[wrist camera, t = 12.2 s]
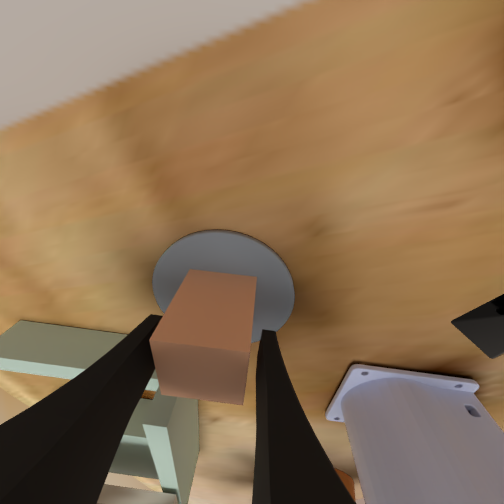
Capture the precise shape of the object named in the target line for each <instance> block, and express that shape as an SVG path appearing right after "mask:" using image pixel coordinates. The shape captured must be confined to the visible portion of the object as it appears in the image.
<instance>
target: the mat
mask: <svg viewBox="0 0 504 504" xmlns="http://www.w3.org/2000/svg"><path fill="white" fill-rule="evenodd" d="M190 269H194V270H202V271H211V272H220V273H228V274H237V275H245V276H254V277H257V282H256V293H255V304H254V315H253V326H252V337H251V343H253V342H257V341H260V339H261V333H262V329H264V330H272V331H275V332H276V331H278V330H279V329H280V328H281V327H282V326H283V325H284V324H285V322H286V321H287V320H288V318H289V316H290V315H291V312H292V309H293V306H294V300H295V293H294V286H293V280H292V277H291V274H290V272H289V270H288V268H287V266H286V264H285V263H284V262H283V260H282V259H281V258H280V257H279V256H278V255H277V253H276V252H275V251H273V250H272V249H271V248H270V247H268V246H267V245H266V244H264V243H262V242H261V241H259V240H257V239H255V238H253V237H251V236H248V235H245V234H242V233H239V232H234V231H229V230H205V231H200V232H195V233H192V234H189V235H187V236H185V237H183V238H181V239H179V240H178V241H176V242H175V243H173V244H172V245H171V246H170V247H169V248H168V249H167V250H166V251H165V252H164V253H163V255H162V256H161V257H160V259H159V260H158V262H157V264H156V266H155V269H154V273H153V280H152V284H153V292H154V296H155V298H156V301H157V303H158V305H159V307H160V309H161V310H162V312H163V313H165V312H166V310H167V308H168V306H169V305H170V303H171V301H172V299H173V298H174V296H175V294H176V292H177V291H178V289H179V287H180V285H181V284H182V282H183V280H184V278H185V277H186V275H187V273H188V271H189V270H190Z"/></svg>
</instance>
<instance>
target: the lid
mask: <svg viewBox="0 0 504 504" xmlns="http://www.w3.org/2000/svg"><path fill="white" fill-rule="evenodd" d="M97 504H178V502H177V497H176V494H169V493H162V492H155V491H148V490H141V489H134V488H127V487H120V486H113V485H106V484H104V485H103V488H102V491H101V493H100V496H99V499H98V501H97Z"/></svg>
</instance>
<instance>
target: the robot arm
mask: <svg viewBox="0 0 504 504" xmlns="http://www.w3.org/2000/svg"><path fill="white" fill-rule="evenodd" d="M162 317H163V316H159V315H152V314H151V315H149V316H148V317H147V318H146V319H145V320H144V321H143V322H142V323H141V324H139V325H138V326H137V327H136V328H135V329H134V330H133V331H132V332H130V333H129V334H128V335H127V336H126V337H125V338H124V339H122V340H121V341H120V342H119V343H118V344H117V345H115V346H114V347H113V348H112V349H111V350H110V351H108V352H107V353H106V354H105V355H103V356H102V357H101V358H100V359H98V360H97V361H96V362H95V363H93V364H92V365H91V366H89V367H88V368H87V369H85V370H84V371H83V372H81V373H80V374H79V375H77V376H76V377H75V378H73V379H72V380H70V381H69V382H67V383H66V384H65V385H63V386H62V387H60V388H59V389H57V390H56V391H54V392H53V393H51V394H50V395H48V396H47V397H45V398H44V399H42V400H41V401H39V402H37V403H36V404H34V405H33V406H31V407H30V408H28V409H26V410H25V411H23V412H21V413H20V414H18V415H16V416H15V417H13V418H11V419H9V420H8V421H6V422H4V423H3V424H1V425H0V504H97V501H98V499H99V496H100V493H101V491H102V488H103V485H104V482H105V480H106V477H107V474H108V472H109V470H110V467H111V465H112V462H113V459H114V457H115V454H116V452H117V449H118V447H119V444H120V442H121V440H122V437H123V435H124V432H125V430H126V428H127V425H128V423H129V420H130V418H131V416H132V414H133V412H134V410H135V408H136V406H137V404H138V402H139V400H140V398H141V396H142V394H143V392H144V390H145V388H146V386H147V385H148V383H149V381H150V379H151V377H152V375H153V373H154V371H155V364H154V360H153V355H152V350H151V346H150V341H149V340H150V338H151V336H152V334H153V333H154V331H155V329H156V327H157V326H158V324H159V322H160V320H161V319H162ZM478 388H479V385H478V383H477V382H476V381H475V380H472V379H465V378H458V377H450V376H443V375H436V374H428V373H421V372H413V371H406V370H398V369H391V368H383V367H376V366H369V365H361V364H354V365H352V366H351V367H350V369H349V370H348V372H347V374H346V376H345V378H344V380H343V381H342V383H341V385H340V387H339V389H338V391H337V392H336V394H335V396H334V398H333V400H332V402H331V403H330V405H329V407H328V409H327V411H326V413H325V416H326V419H328V420H331V421H338V422H345V425H346V429H347V433H348V437H349V441H350V445H351V449H352V453H353V457H354V461H355V465H356V469H357V473H358V477H359V481H360V485H361V489H362V493H363V497H364V500H365V504H504V432H503V431H502V430H501V428H500V427H499V426H498V425H497V423H496V422H495V421H494V419H493V418H492V417H491V415H490V414H489V413H488V411H487V410H486V409H485V408H484V406H483V405H482V404H481V402H480V401H479V400H478V398H477V397H476V396H475V395H474V392H475V391H476V390H477V389H478ZM252 504H356V502H355V501H354V499H353V498H352V496H351V495H350V493H349V491H348V490H347V488H346V487H345V485H344V483H343V482H342V480H341V478H340V477H339V475H338V474H337V472H336V470H335V469H334V467H333V465H332V463H331V462H330V460H329V458H328V456H327V455H326V453H325V451H324V449H323V448H322V446H321V444H320V442H319V440H318V439H317V437H316V435H315V433H314V431H313V429H312V427H311V425H310V423H309V421H308V419H307V417H306V415H305V413H304V411H303V409H302V407H301V405H300V402H299V400H298V398H297V395H296V393H295V391H294V388H293V386H292V383H291V381H290V378H289V376H288V373H287V370H286V367H285V364H284V361H283V358H282V355H281V352H280V348H279V345H278V341H277V336H276V332H275V331H272V330H264V329H262V333H261V339H260V344H259V350H258V355H257V368H256V450H255V467H254V482H253V497H252Z"/></svg>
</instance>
